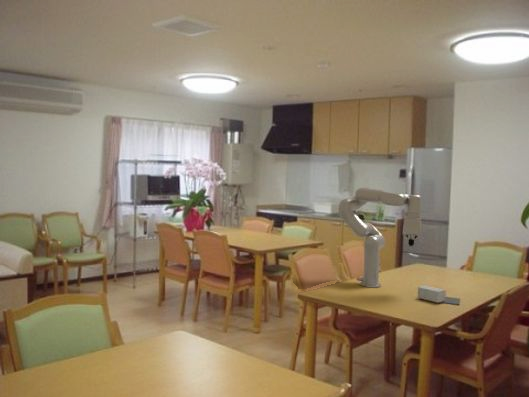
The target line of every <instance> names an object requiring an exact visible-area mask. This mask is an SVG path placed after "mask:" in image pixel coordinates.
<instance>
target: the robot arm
mask: <svg viewBox="0 0 529 397" xmlns="http://www.w3.org/2000/svg"><path fill="white" fill-rule="evenodd" d="M367 203H372V204H378V205H385V206H386V205H387V206H393V207H407V208H406V212H404V216H405V217H404V221H403V226H402V227H403V228H402V236H405V237H406V238H407V239H408V246H409V247H413V245H414V244H415V240H416V239H417V238H421V237H422V218H420V217H421V205H422V196H421V195H420V194H419V195H417V194H408V193H395V192H394V193H393V192H386V191H383V190H382V189H376V188H375V189H374V188H369V187H359V188H358V189H356V191H355V195H354V196H352V197H348V198H347V197H346V198H343V199H342V200H341V201H339V204H338V208H337V209H338V214H339V216H340V218H341V220H343V222H344V223H345V224H346V225H347V226H348V227H349V229H351V231H352V232H353V233H354V234H355V236H356V237H358V238H360V239H363V238H365V239H364V242H363V252H364V254H363V255H364V256H363V257H364V258H363V277H362V276H361V277H357V276H356V281H358V282H360V286H363V287H366V288H367V287H368V288H380V287H381V286H382V284H381V283H380V281H379V278H380V260H381V258H380V254H381V253H380V250H381V249H383V248H384V247H385V245H386V239H385V237H384V235H382V234H381V232H380V231H379V230H378V229H377V228H376V226H375V225H373V224H372V223H371V222H368V221H365V222H364V221H363V220H362V219H361V218H360V217H359V216H358V215H357V214H356V213H354V212H355V211H358V210H359V209H361V208H362V207H363V206H365V205H367Z"/></svg>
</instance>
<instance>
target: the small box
mask: <svg viewBox="0 0 529 397" xmlns="http://www.w3.org/2000/svg"><path fill="white" fill-rule="evenodd" d="M446 292H447V290H446V289H442V288H438V287H434V286H429V285H421V286H417V298H418V299H422V300H424V301H425V300H429V301H428V302H431V301H433V303H439V302H442V301H445V297H447V296H446V295H447V294H446Z"/></svg>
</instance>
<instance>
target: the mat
mask: <svg viewBox="0 0 529 397" xmlns="http://www.w3.org/2000/svg"><path fill="white" fill-rule="evenodd" d="M424 301H426V302H433V301H429V300H425V299H424ZM460 302H461V298H459V297H450V296H445V301H442V302H438V303H440V304H446V305H447V304H448V305H452V306H453V305H454V306H460ZM433 303H434V302H433Z"/></svg>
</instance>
